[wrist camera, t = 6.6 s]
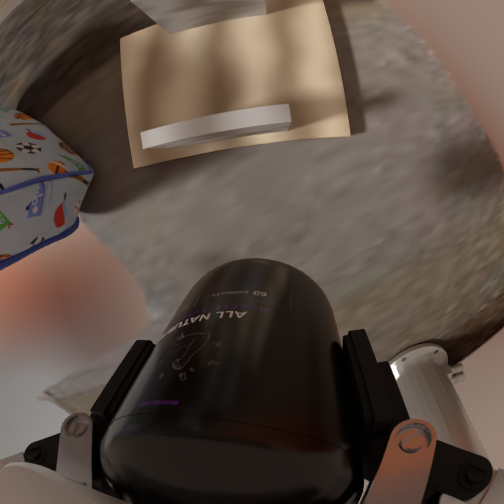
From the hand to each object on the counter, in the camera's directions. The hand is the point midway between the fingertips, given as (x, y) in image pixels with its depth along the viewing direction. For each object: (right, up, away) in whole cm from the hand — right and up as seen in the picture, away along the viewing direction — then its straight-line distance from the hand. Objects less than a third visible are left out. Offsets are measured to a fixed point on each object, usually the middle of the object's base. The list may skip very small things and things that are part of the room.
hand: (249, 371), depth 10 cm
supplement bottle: (0, +1, +3) cm, 3 cm away
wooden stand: (-2, +22, +15) cm, 27 cm away
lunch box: (-30, +18, +19) cm, 40 cm away
